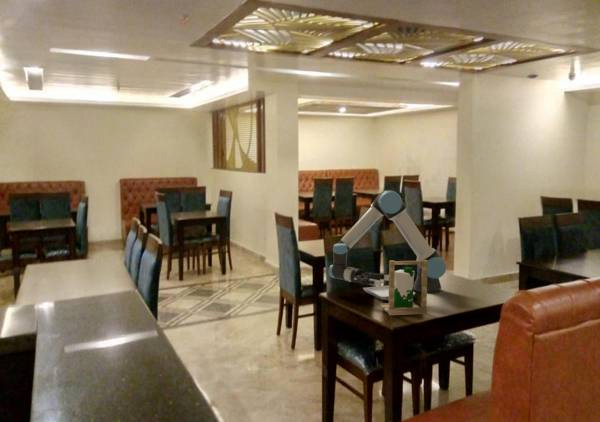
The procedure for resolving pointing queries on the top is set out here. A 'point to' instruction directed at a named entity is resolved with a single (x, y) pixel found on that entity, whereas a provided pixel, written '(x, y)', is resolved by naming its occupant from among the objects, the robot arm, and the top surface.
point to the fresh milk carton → (403, 288)
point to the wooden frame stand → (390, 305)
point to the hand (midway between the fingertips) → (388, 281)
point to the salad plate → (379, 292)
